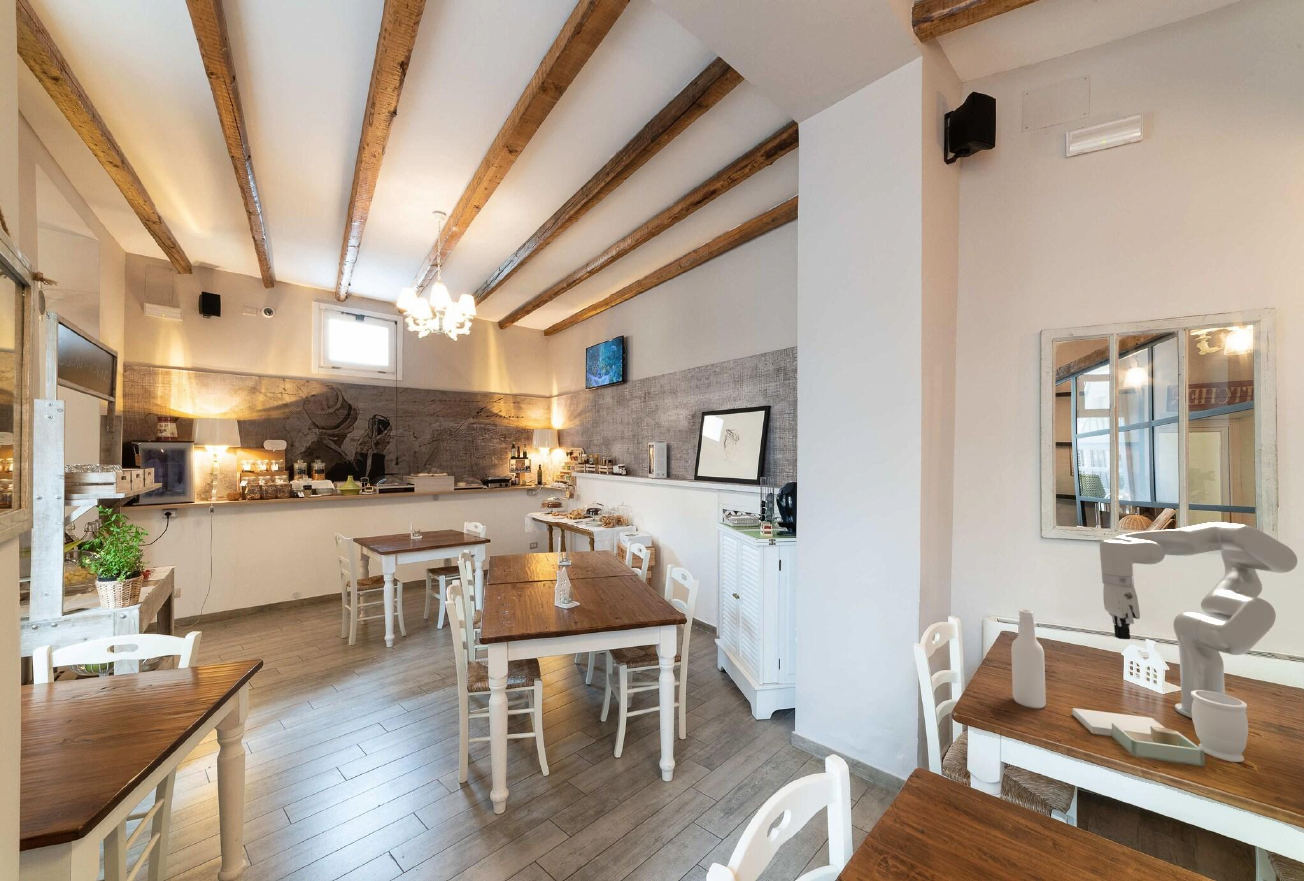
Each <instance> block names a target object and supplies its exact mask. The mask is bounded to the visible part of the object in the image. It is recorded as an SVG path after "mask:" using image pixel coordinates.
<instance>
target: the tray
mask: <svg viewBox="0 0 1304 881" xmlns="http://www.w3.org/2000/svg"><path fill="white" fill-rule="evenodd" d="M1173 731H1174V732H1175V733H1177V734H1178V746H1174V745H1167V744H1160V743H1152V742H1145V741H1138V740H1134V739H1133V738H1132V737H1131V736H1129V735H1128V734H1127V733H1126V732H1125V731H1124V730H1122V729H1121V728H1120V727H1119V726H1118V725H1117V724H1115V723H1112V736H1111V737H1112V738H1113V739H1114V740H1115V741H1116V742H1117V743H1119V745H1120V746H1121V747H1122V748H1124V749H1125V750H1126V751H1127V752H1128V753H1129V754H1130V755H1132V756H1133V757H1135V758H1144V759H1150V760H1156V761H1163V762H1171V763H1179V764H1185V765H1191V766H1198V767H1206V761H1205V752H1204V750H1202V749H1201V748H1199V745H1197V744H1195V743H1194V742H1193V741H1191V740H1190V739H1188V738H1187V737H1186V736H1185V735H1183V734H1182V733H1180V732H1179V731H1177V730H1173Z"/></svg>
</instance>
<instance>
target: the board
mask: <svg viewBox="0 0 1304 881" xmlns="http://www.w3.org/2000/svg"><path fill="white" fill-rule="evenodd" d="M1072 715H1073V716H1074V717H1075V719H1077V720H1078V721H1079V722H1080V723H1081V724H1082V725H1083V726H1084V727H1085V728H1086V729H1087V730H1088V731H1089V732H1090V733H1091V734H1096V735H1102V736H1109V737H1112V723H1115V724H1117V725H1118V726H1119V727H1120V728H1121V729H1122V730H1124V731H1125V732H1131V733H1139V734H1146V735H1147V736H1148V737H1149V738H1150V739H1151V727H1150V726H1153V727H1160V728H1166V727H1165V726H1163V725H1162V724H1161V723H1159V722H1158V721H1156V720H1155V719H1154V718H1153V717H1147V716H1139V715H1131V714H1124V713H1117V712H1116V713H1115V712H1108V711H1107V712H1106V711H1099V710H1092V709H1083V708H1076V707H1075V708H1074V707H1073V708H1072Z"/></svg>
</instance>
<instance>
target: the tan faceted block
mask: <svg viewBox="0 0 1304 881" xmlns="http://www.w3.org/2000/svg"><path fill="white" fill-rule="evenodd" d="M1150 727H1151V739H1152V740H1153V741H1154V742H1155V743H1160V744H1167V745H1174V746H1178V734H1177V733H1175V732H1174V731H1175V730H1173V729H1171V728H1166V727H1165V728H1160V727H1153V726H1150Z"/></svg>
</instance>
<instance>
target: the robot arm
mask: <svg viewBox="0 0 1304 881" xmlns="http://www.w3.org/2000/svg"><path fill="white" fill-rule="evenodd" d="M1213 551H1220V554H1221V558H1222V561H1223V565H1224V575H1223V577H1222V578H1221V579H1220V581H1218V583H1216V584H1215V586H1213V588H1211V589H1210V591H1208V592H1207V594H1206V595H1205V596H1204V598H1203V599H1202V601H1201V602H1200V607H1201V610H1202V611H1203V612H1204V613H1205V614H1204V613H1198V612H1192V611H1189V612H1188V611H1186V612H1185V611H1184V612H1182V613H1179V614H1177V615H1176V616H1175V617H1174V620H1173V630H1174V634H1175V638H1176V640H1177V645H1178V653H1179V655H1178V656H1179V675H1180V693H1181V694H1180V696H1181V698H1180V699H1181V702H1178V703H1176V704H1175V705H1174V709H1175V711H1176V712H1178V713H1179V714H1180V715H1183V716H1185V717H1187V718H1189V719H1192V703H1193V700H1194V698H1193V697H1192V696H1191V691H1194V690H1204V691H1211V692H1216V693H1221V694H1225V695H1226V689H1225V688H1226V687H1225V665H1224V661H1223V657H1222V655H1221V653H1224V654H1228V655H1230V656H1231V655H1232V656H1241V655H1244V654H1246V653H1248V652H1249V651H1250V650H1252V648H1254V647H1255V645H1257V644H1258V642H1259V641H1260V640H1261V639H1262V638H1263V637H1264V636H1266V634H1267V633H1268V632H1270V630H1271V628H1272V627H1273V626H1274V625H1275V621H1276V615H1277V613H1276V611H1275V608H1274V606H1273V605H1272V604H1271V602H1270V603H1269V602H1268V601H1267V600H1265V599H1262V598H1260V597H1258V596H1260V594H1261V592H1262V591H1263V584H1262V581H1261V579H1260V578H1259V575H1258V573H1257V571H1258V570H1259V571H1264V572H1271V573H1278V574H1281V573H1283V574H1284V573H1288V572H1291V571H1292V570H1294V569H1295V568H1296V567H1297V565H1298V557H1297V555H1296V553H1295V552H1294V550H1293V549H1291V548H1290V547H1289V546H1288V545H1286V544H1285V543H1283V542H1281V541H1279V540H1277V539H1276V538H1274V537H1272V536H1271V535H1269V534H1267V533H1265V532H1263V531H1262V530H1260V529H1259V528H1258V529H1257V528H1255V527H1253V526H1251V525H1246V524H1241V523H1240V524H1239V523H1232V522H1231V523H1229V522H1222V521H1221V522H1219V521H1212V522H1211V521H1210V522H1207V523H1205V522H1204V523H1201V524H1200V523H1199V524H1195V525H1190V526H1185V527H1181V528H1175V529H1162V530H1150V531H1140V532H1138V531H1137V532H1130V533H1126V534H1122V535H1121V534H1120V535H1118V536H1115V537H1113V538H1112V539H1105V540H1101V541H1100V542H1099V557H1100V569H1101V580H1102V581H1101V584H1103V590H1102V592H1103V593H1102V594H1103V606H1104V610H1105V611H1106V612H1107V613H1108V614H1109V616H1110V617H1111V618H1112V623H1113V628H1114V637H1115V638H1117V639H1119V640H1130V639H1131V632H1130V627H1131V625H1133V624H1135V620H1139V619H1140V618H1141V615H1140V614H1141V612H1140V606H1139V600H1138V595H1137V591H1136V588H1135V579H1134V566H1133V564H1139V565H1140V564H1141V565H1156V564H1158V563H1161V562H1162V561H1163V560H1164V558H1165V555H1166V556H1176V557H1179V556H1181V557H1183V556H1185V557H1187V556H1194V555H1199V554H1204V553H1209V552H1213ZM1256 570H1257V571H1256ZM1134 619H1135V620H1134ZM1220 652H1221V653H1220ZM1244 712H1245V714H1246V717H1247V716H1248V712H1247V709H1246V710H1244Z"/></svg>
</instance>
